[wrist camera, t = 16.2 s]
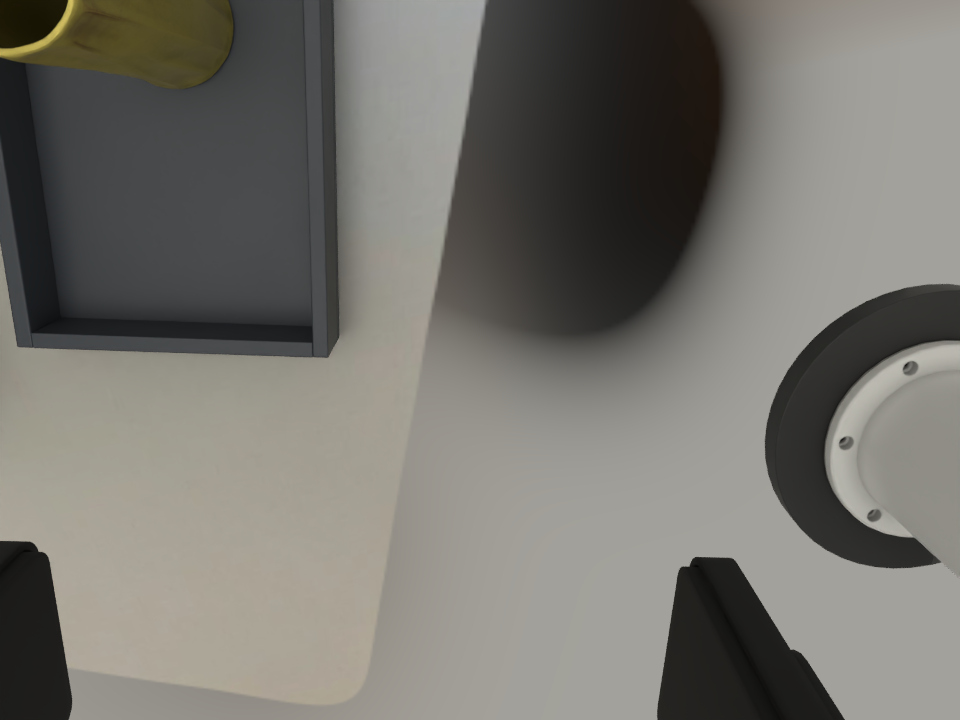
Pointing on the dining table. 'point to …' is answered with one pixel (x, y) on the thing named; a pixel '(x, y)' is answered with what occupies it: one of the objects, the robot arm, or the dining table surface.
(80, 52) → the vase
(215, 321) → the tray
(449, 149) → the dining table surface
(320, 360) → the dining table surface
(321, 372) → the dining table surface
